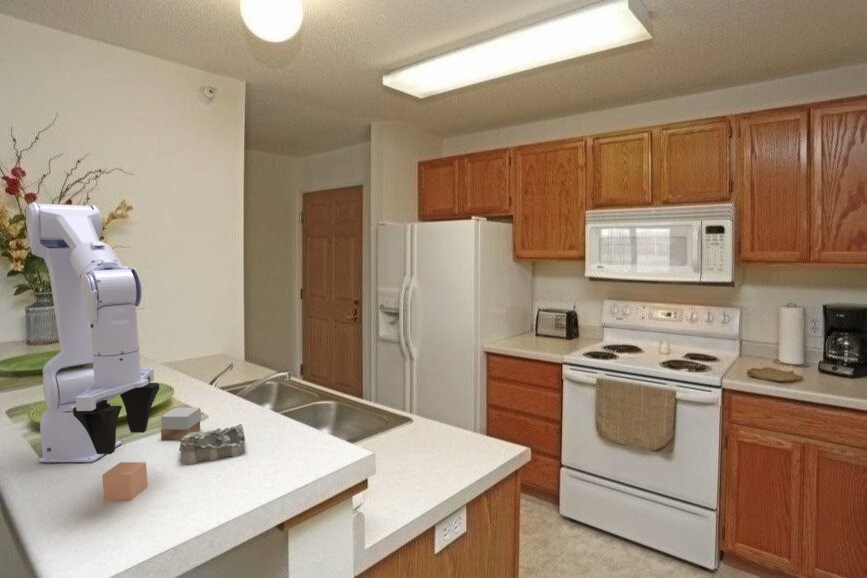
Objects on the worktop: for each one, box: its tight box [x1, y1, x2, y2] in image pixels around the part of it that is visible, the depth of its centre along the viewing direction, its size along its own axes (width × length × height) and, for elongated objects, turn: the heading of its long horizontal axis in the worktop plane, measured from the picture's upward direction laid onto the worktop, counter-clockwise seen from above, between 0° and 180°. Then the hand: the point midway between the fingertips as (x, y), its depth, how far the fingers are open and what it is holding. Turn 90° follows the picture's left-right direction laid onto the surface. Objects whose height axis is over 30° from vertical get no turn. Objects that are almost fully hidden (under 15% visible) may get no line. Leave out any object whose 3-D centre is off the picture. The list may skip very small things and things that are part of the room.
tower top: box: [160, 407, 202, 429], centre depth 95 cm, size 5×5×2 cm
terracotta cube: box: [101, 461, 148, 502], centre depth 73 cm, size 4×4×4 cm
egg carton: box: [178, 423, 246, 466], centre depth 87 cm, size 11×8×4 cm
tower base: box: [160, 420, 201, 442], centre depth 95 cm, size 5×5×2 cm
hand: (122, 441), depth 72 cm, fingers open, 7 cm apart
